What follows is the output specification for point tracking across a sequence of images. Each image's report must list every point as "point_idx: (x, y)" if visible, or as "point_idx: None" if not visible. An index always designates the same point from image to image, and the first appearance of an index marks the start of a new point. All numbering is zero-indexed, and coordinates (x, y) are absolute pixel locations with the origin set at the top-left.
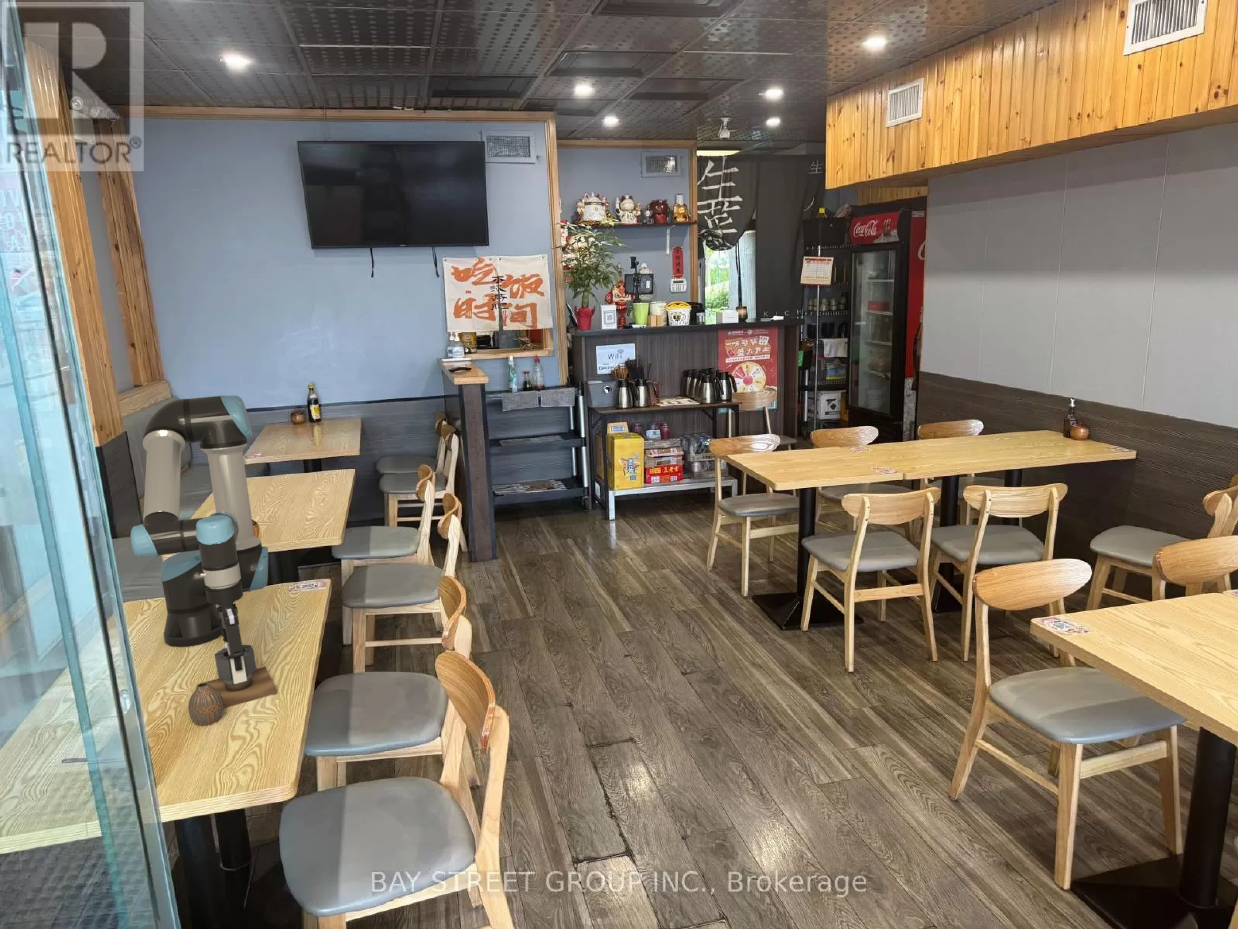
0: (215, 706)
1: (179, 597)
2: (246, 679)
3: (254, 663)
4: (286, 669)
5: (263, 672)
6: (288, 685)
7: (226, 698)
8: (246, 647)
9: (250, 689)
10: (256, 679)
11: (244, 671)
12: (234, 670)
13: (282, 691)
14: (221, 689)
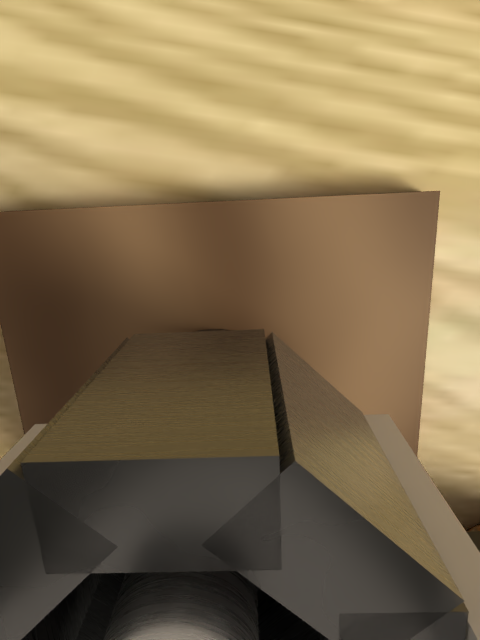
0: None
1: None
2: (392, 421)
3: (286, 369)
4: (43, 58)
5: (88, 239)
6: (346, 90)
7: None
8: (74, 539)
9: (328, 356)
10: (185, 300)
11: (422, 478)
12: None
13: (417, 149)
14: None
